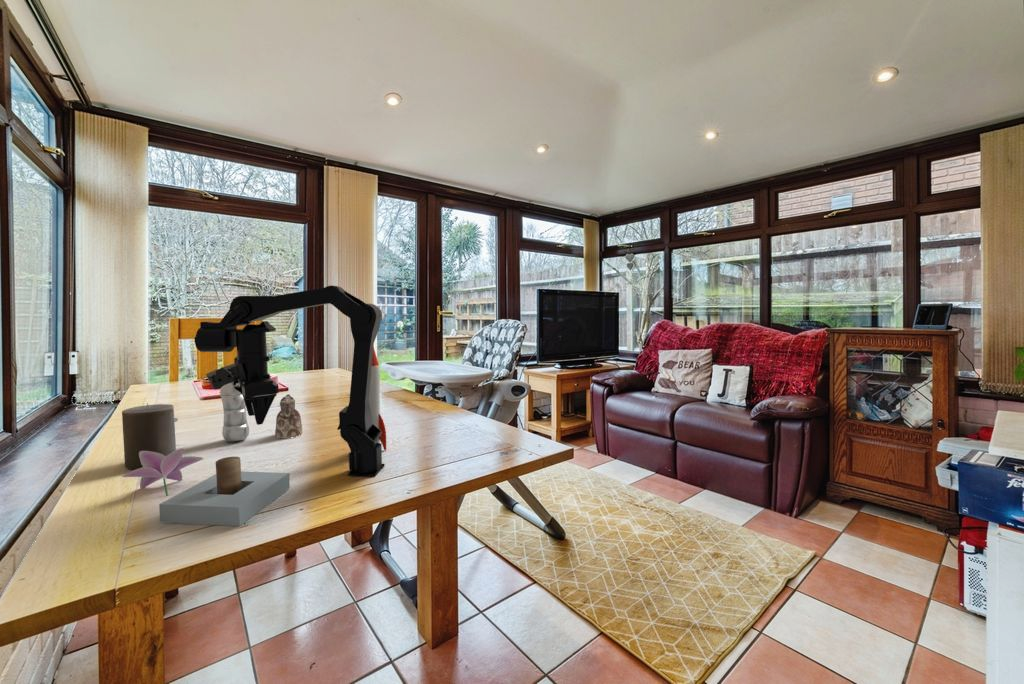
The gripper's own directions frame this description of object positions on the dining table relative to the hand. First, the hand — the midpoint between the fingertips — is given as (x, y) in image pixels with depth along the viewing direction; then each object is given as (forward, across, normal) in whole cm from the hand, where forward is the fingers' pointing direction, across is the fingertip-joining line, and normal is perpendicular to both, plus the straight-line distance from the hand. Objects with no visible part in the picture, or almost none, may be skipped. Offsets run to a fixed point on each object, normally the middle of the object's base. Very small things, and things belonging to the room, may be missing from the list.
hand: (255, 419), depth 95 cm
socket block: (+13, +13, -7) cm, 19 cm away
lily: (+13, -4, -16) cm, 22 cm away
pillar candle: (+13, -26, -18) cm, 34 cm away
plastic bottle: (+13, -31, 0) cm, 34 cm away
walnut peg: (+13, +13, -7) cm, 19 cm away
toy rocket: (+13, +1, +27) cm, 30 cm away
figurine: (+13, -27, +13) cm, 33 cm away
